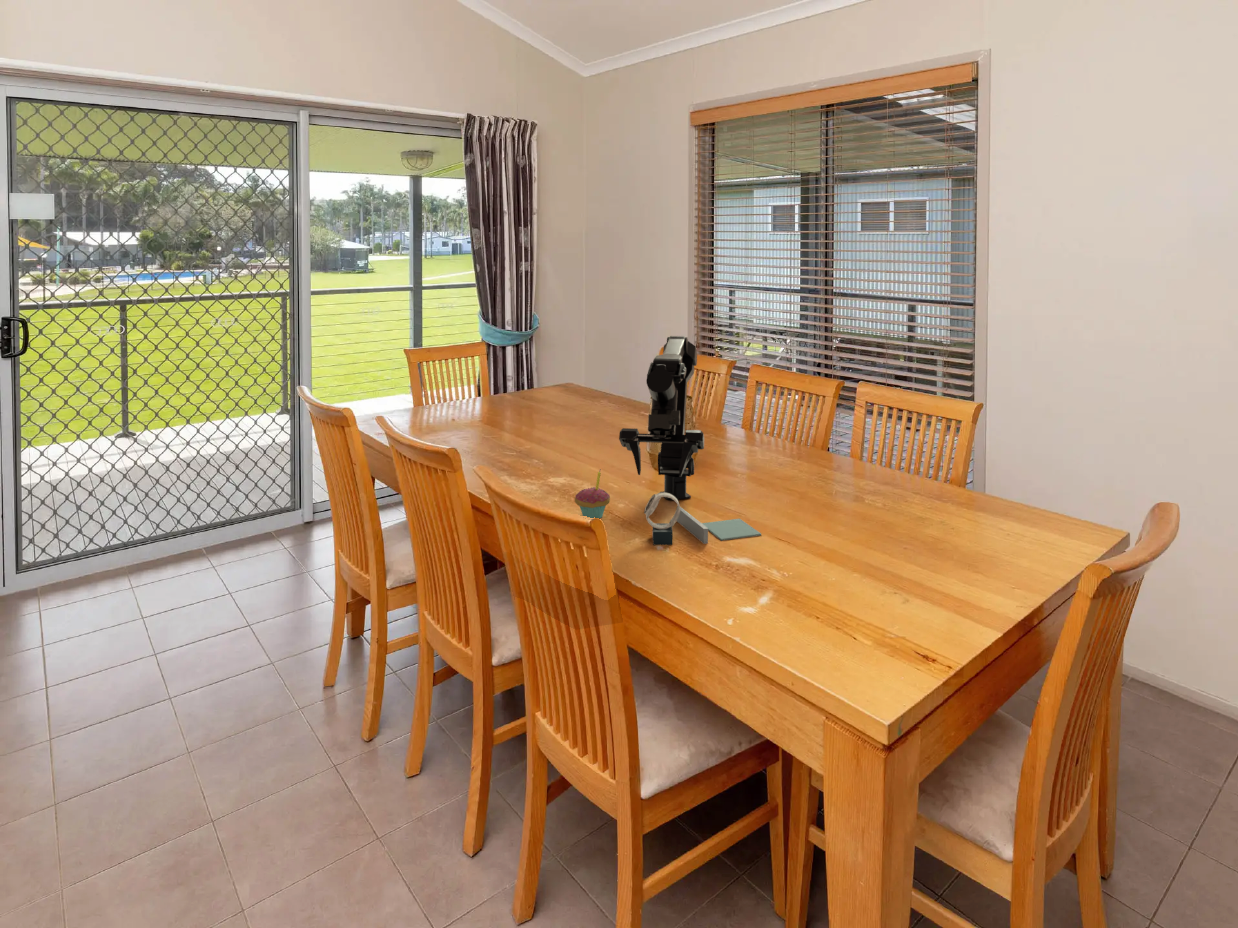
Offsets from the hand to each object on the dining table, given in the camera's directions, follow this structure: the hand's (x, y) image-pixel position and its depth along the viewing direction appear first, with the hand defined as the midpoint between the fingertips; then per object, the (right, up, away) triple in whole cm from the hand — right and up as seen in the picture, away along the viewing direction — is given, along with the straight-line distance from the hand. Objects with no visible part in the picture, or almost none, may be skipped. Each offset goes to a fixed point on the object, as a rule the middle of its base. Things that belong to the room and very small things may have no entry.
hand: (659, 475), depth 184 cm
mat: (+17, -13, +8) cm, 23 cm away
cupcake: (-15, -10, +18) cm, 26 cm away
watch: (+1, -15, +2) cm, 15 cm away
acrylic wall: (+8, -13, +8) cm, 17 cm away
